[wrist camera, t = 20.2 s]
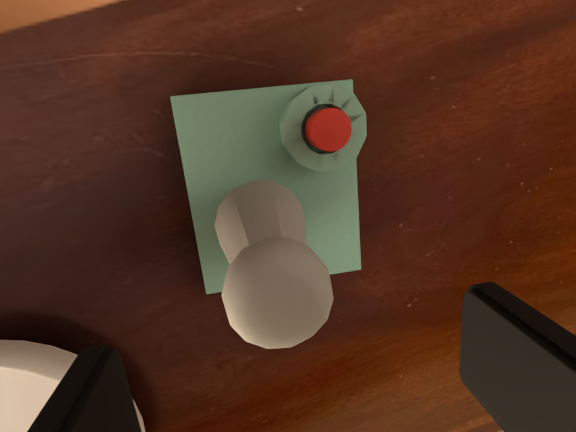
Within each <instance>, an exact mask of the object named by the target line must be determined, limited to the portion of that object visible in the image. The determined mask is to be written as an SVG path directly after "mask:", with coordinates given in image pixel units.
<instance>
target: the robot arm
mask: <svg viewBox="0 0 576 432" xmlns="http://www.w3.org/2000/svg"><path fill="white" fill-rule="evenodd" d="M459 372H460V376H461V379H462V381H463V383H464V384H465V386H466V387H467V388H468V389H469V390H470V392H471V393H472V394H473V395H474V396H475V398H476V399H477V400H478V401H479V402H480V404H481V405H482V406H483V407H484V408H485V409H486V411H487V412H488V413H489V414H490V415H491V417H492V418H493V419H494V420H495V421H496V423H497V424H498V425H499V426H500V427H501V429H502V430H503V431H504V432H576V336H575V335H574V334H572V333H571V332H569V331H567V330H566V329H564V328H563V327H561V326H560V325H558V324H557V323H555V322H554V321H552V320H551V319H549V318H548V317H546V316H545V315H543V314H542V313H540V312H539V311H537V310H535V309H534V308H532V307H531V306H529V305H528V304H526V303H525V302H523V301H522V300H520V299H519V298H517V297H516V296H514V295H513V294H511V293H510V292H508V291H507V290H505V289H503V288H502V287H500V286H499V285H497V284H496V283H494V282H486V283H480V284H474V285H471V286H469V288H468V291H466V292H465V293H464V296H463V311H462V329H461V347H460V365H459ZM27 432H142V431H141V427H140V424H139V420H138V417H137V413H136V410H135V406H134V402H133V399H132V395H131V392H130V388H129V385H128V381H127V378H126V374H125V371H124V367H123V364H122V360H121V357H120V353H119V351H118V350H117V349H113V350H112V348H111V347H110V346H109V345H101V346H95V347H89V348H84V349H82V350H81V351H80V352H79V354H78V356H77V357H76V359H75V360H74V362H73V363H72V365H71V366H70V368H69V369H68V371H67V372H66V374H65V375H64V377H63V378H62V380H61V381H60V383H59V384H58V386H57V387H56V389H55V390H54V392H53V393H52V395H51V396H50V398H49V399H48V401H47V402H46V404H45V405H44V407H43V408H42V410H41V411H40V413H39V414H38V416H37V417H36V419H35V420H34V422H33V423H32V425H31V426H30V428H29V429H28V431H27Z"/></svg>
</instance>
